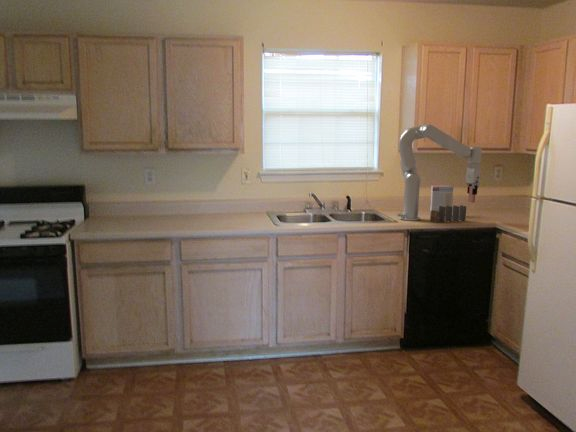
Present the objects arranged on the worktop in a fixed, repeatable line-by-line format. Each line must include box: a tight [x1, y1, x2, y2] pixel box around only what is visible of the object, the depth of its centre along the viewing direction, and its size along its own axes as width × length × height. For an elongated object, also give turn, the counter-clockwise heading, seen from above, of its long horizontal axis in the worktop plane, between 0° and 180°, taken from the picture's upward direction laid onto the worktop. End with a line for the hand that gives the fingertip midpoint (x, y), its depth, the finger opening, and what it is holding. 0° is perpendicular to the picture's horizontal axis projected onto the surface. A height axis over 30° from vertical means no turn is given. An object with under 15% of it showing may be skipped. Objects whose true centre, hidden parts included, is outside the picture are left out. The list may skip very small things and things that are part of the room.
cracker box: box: [429, 184, 454, 217], centre depth 355 cm, size 14×6×21 cm, turn 84°
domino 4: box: [459, 204, 467, 222], centre depth 336 cm, size 2×5×10 cm, turn 13°
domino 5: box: [467, 185, 476, 204], centre depth 333 cm, size 2×5×10 cm, turn 12°
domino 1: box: [439, 206, 446, 223], centre depth 333 cm, size 2×5×10 cm, turn 14°
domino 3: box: [452, 205, 460, 223], centre depth 335 cm, size 2×5×10 cm, turn 13°
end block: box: [429, 210, 440, 224], centre depth 332 cm, size 2×7×7 cm, turn 14°
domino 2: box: [445, 206, 453, 223], centre depth 334 cm, size 2×5×10 cm, turn 13°
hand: (472, 193), depth 333 cm, fingers closed on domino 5, 4 cm apart
